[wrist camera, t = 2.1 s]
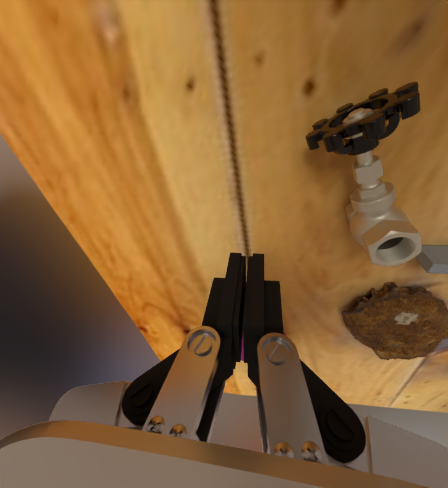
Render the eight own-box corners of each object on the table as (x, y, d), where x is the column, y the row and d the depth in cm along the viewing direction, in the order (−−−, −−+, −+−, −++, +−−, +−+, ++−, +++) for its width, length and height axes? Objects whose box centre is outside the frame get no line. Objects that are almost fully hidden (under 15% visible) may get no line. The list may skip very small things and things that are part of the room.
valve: (405, 213, 21) (391, 79, 16) (450, 257, 16) (454, 82, 10) (334, 234, 24) (299, 128, 18) (352, 278, 19) (313, 149, 13)
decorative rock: (450, 330, 31) (418, 263, 26) (473, 358, 28) (442, 288, 23) (367, 350, 36) (325, 298, 31) (378, 376, 33) (334, 322, 28)
